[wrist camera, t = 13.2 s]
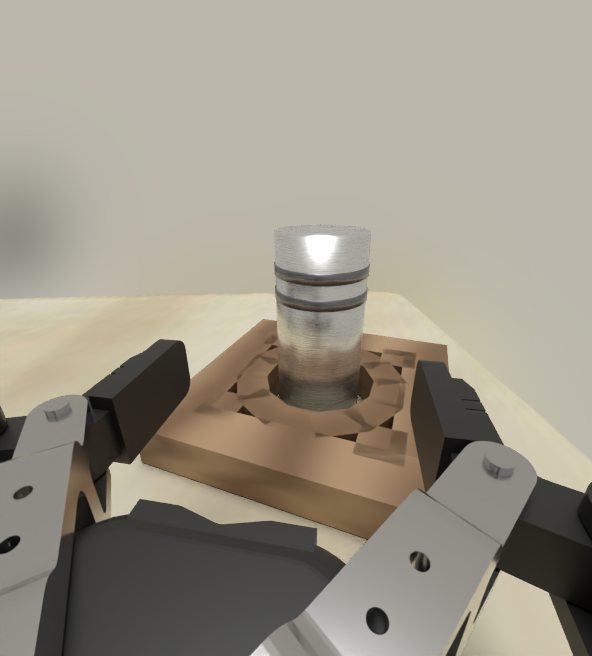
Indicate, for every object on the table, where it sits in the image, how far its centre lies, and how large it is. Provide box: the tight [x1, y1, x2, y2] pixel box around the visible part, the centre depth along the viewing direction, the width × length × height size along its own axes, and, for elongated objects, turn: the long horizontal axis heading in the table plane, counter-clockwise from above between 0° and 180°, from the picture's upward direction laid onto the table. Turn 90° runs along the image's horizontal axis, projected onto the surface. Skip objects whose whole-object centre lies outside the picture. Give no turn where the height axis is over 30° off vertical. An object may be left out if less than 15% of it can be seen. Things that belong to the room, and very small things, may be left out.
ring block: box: [140, 319, 449, 539], centre depth 23 cm, size 16×16×2 cm
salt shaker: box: [274, 225, 371, 412], centre depth 21 cm, size 5×5×12 cm
